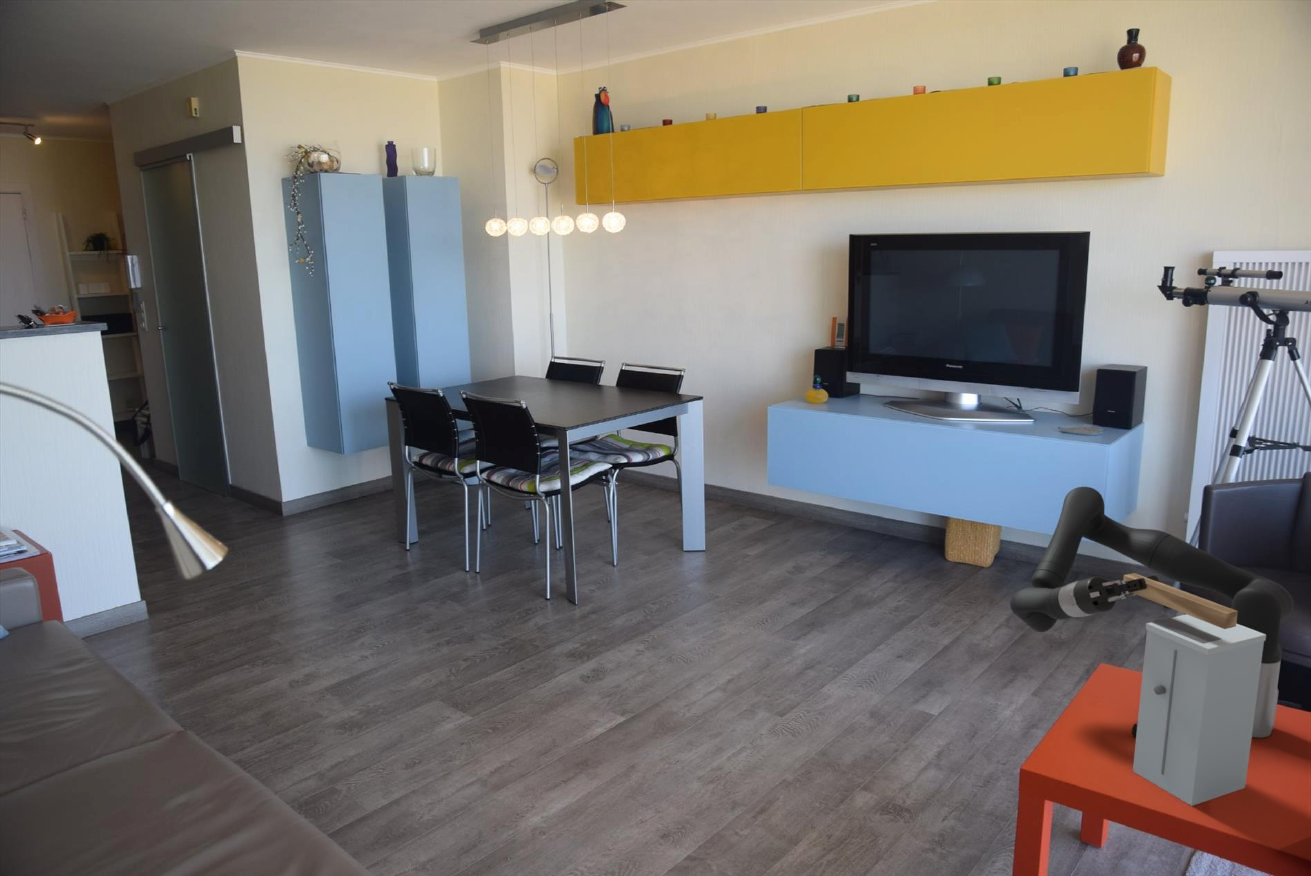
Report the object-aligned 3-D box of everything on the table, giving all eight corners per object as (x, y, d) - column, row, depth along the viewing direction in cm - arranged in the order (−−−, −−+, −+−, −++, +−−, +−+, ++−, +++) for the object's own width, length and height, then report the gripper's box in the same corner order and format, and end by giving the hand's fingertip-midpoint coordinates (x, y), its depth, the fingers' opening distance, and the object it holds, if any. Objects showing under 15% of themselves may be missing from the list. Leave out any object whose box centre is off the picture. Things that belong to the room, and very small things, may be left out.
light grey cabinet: (1186, 754, 191) (1202, 610, 184) (1246, 787, 179) (1266, 634, 173) (1128, 772, 185) (1143, 623, 178) (1187, 807, 173) (1205, 649, 166)
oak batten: (1133, 586, 187) (1134, 573, 187) (1235, 626, 167) (1237, 611, 167) (1122, 589, 186) (1123, 575, 186) (1224, 629, 166) (1226, 613, 166)
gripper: (1116, 609, 198) (1182, 595, 183) (1067, 619, 193) (1131, 605, 178) (1104, 575, 200) (1169, 558, 185) (1056, 585, 195) (1118, 568, 180)
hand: (1150, 581), depth 182 cm, fingers closed on oak batten, 3 cm apart
